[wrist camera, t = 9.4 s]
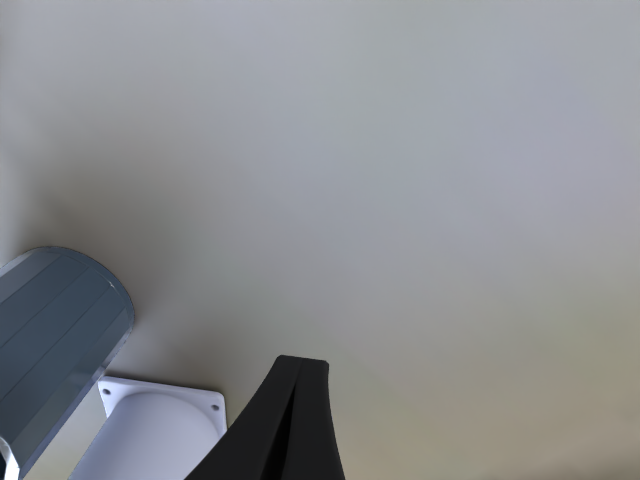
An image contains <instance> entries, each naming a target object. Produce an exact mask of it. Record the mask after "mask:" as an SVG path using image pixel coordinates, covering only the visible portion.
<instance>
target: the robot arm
mask: <svg viewBox="0 0 640 480" xmlns="http://www.w3.org/2000/svg"><path fill="white" fill-rule="evenodd" d="M328 374H329V364H328V363H327V362H326V361H324V360H317V359H309V358H302V357H294V356H287V355H280V356H278V357H277V358H276V360H275V362H274V364H273V366H272V368H271V369H270V371H269V373H268V374H267V376H266V378H265V379H264V381H263V382H262V384H261V385H260V387H259V388H258V390H257V391H256V393H255V394H254V396H253V397H252V398H251V400H250V401H249V403H248V404H247V405H246V407H245V408H244V409H243V411H242V412H241V414H240V415H239V416H238V418H237V419H236V420H235V421H234V423H233V424H232V425H231V426H230V428H229V429H228V430H227V426H226V414H225V402H224V397H223V395H222V394H220V393H218V392H213V391H206V390H199V389H192V388H185V387H179V386H172V385H165V384H158V383H151V382H144V381H137V380H130V379H123V378H116V377H109V376H103V377H101V379H100V380H99V381H98V387H99V391H100V394H101V398H102V401H103V404H104V408H105V411H106V415H107V418H108V419H107V420H106V422H105V423H104V425H103V426H102V428H101V429H100V431H99V432H98V434H97V435H96V437H95V438H94V440H93V441H92V443H91V444H90V446H89V447H88V449H87V450H86V452H85V454H84V455H83V457H82V458H81V460H80V461H79V463H78V464H77V466H76V467H75V469H74V470H73V472H72V473H71V475H70V476H69V478H68V479H67V480H345V476H344V472H343V469H342V464H341V460H340V456H339V452H338V448H337V443H336V438H335V433H334V427H333V422H332V416H331V409H330V401H329V389H328Z"/></svg>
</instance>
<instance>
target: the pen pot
mask: <svg viewBox="0 0 640 480" xmlns="http://www.w3.org/2000/svg"><path fill="white" fill-rule="evenodd" d="M133 325H134V309H133V306H132V302H131V300H130V298H129V295H128V294H127V292H126V290H125V289H124V287H123V286H122V284H121V283H120V282H119V281H118V280H117V278H116V277H115V276H114V275H113V274H112V273H111V272H109V271H108V270H107V269H106V268H105V267H103V266H102V265H101V264H99V263H98V262H96V261H95V260H93V259H91V258H89V257H87V256H85V255H83V254H81V253H78V252H76V251H73V250H69V249H66V248H60V247H40V248H35V249H32V250H29V251H27V252H25V253H24V254H22V255H21V256H19V257H16V258H14V259H13V260H12V261H10V262H9V263H7V264H6V265H5V266H3V267H2V268H0V480H22V479H23V478H24V477H25V475H26V474H27V473H28V471H29V470H30V469H31V467H32V466H33V465H34V463H35V462H36V461H37V459H38V458H39V457H40V455H41V454H42V453H43V451H44V450H45V449H46V447H47V446H48V445H49V443H50V442H51V441H52V439H53V438H54V437H55V435H56V434H57V433H58V431H59V430H60V429H61V427H62V426H63V425H64V423H65V422H66V421H67V419H68V418H69V417H70V415H71V414H72V413H73V411H74V410H75V409H76V407H77V406H78V405H79V403H80V402H81V401H82V399H83V398H84V397H85V395H86V394H87V393H88V391H89V390H90V389H91V387H92V386H93V385H94V383H95V382H96V381H97V379H98V378H99V377H100V375H101V374H102V373H103V371H104V370H105V369H106V367H107V366H108V365H109V363H110V362H111V361H112V359H113V358H114V357H115V355H116V354H117V353H118V351H119V350H120V349H121V347H122V346H123V345H124V343H125V341H126V339H127V338H128V336H129V335H130V333H131V331H132V329H133Z"/></svg>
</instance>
